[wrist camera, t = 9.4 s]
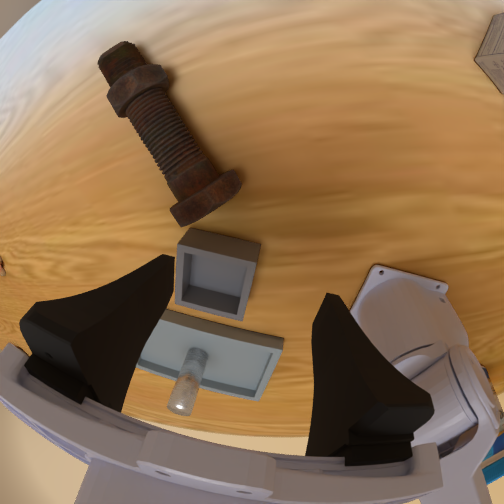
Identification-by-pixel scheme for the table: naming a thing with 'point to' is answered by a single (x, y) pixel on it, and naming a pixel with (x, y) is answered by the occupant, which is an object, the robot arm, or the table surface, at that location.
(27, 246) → the table surface
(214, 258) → the shallow square open box
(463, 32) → the table surface
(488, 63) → the grey stone block
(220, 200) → the bolt
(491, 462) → the beverage bottle
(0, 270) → the grandmother figurine
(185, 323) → the tray
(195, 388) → the steel pin
